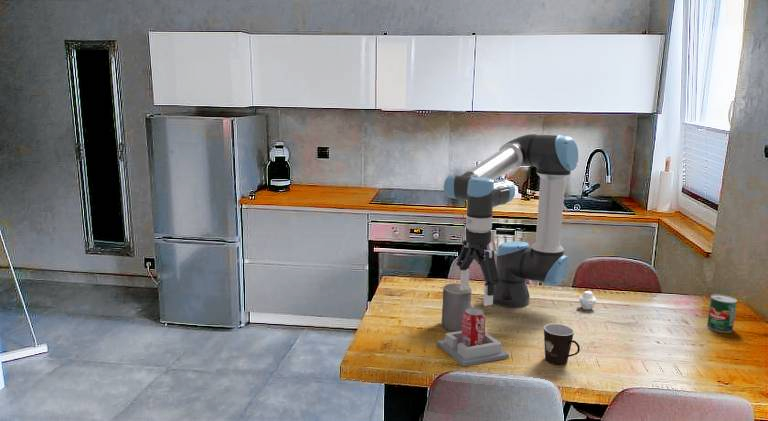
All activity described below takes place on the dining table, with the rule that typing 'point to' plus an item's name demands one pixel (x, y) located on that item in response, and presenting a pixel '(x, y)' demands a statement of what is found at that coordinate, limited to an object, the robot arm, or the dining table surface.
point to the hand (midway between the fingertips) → (475, 297)
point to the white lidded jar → (587, 300)
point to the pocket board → (472, 349)
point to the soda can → (473, 327)
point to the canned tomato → (722, 313)
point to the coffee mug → (558, 343)
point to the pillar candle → (454, 306)
